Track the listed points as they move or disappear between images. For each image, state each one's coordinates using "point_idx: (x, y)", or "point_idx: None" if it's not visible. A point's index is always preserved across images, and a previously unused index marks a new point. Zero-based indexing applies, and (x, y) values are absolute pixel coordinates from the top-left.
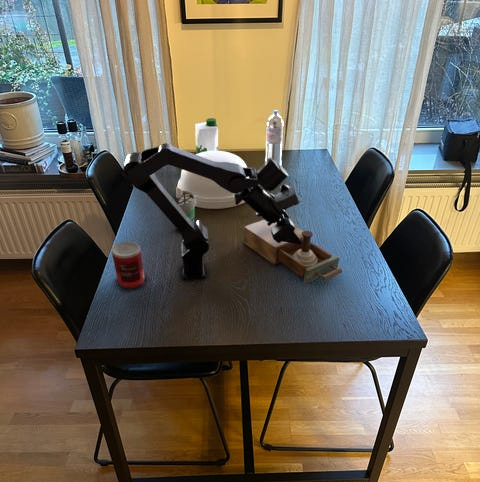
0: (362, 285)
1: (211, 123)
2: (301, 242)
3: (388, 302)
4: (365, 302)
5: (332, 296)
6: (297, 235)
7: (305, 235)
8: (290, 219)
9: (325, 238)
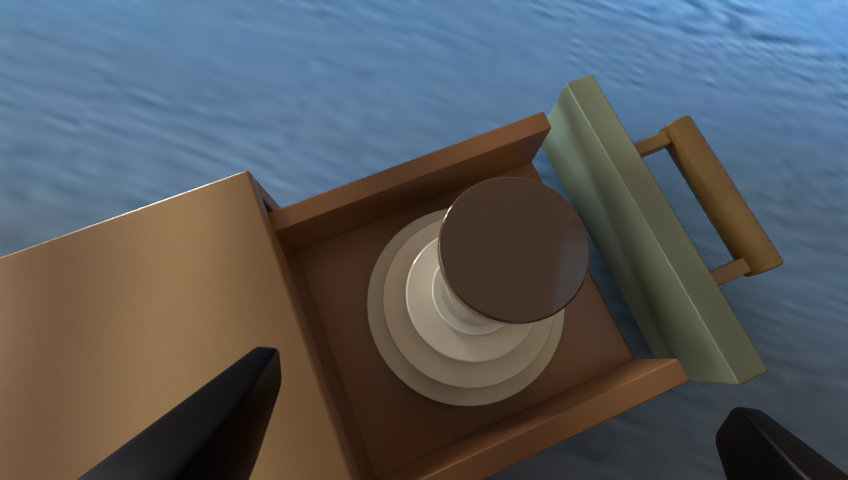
0: (693, 67)
1: None
2: (760, 416)
3: (834, 17)
4: (837, 111)
5: (787, 251)
6: (232, 277)
7: (567, 288)
8: (192, 458)
9: (192, 67)
